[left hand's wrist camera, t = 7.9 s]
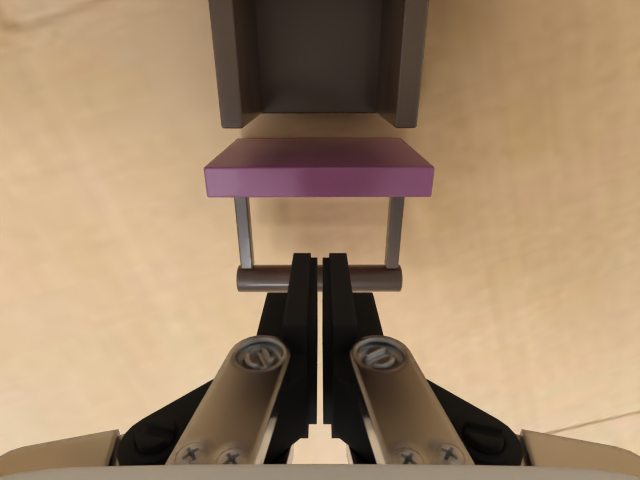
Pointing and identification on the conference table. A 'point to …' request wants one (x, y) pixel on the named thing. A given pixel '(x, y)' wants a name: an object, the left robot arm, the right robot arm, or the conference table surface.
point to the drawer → (319, 97)
